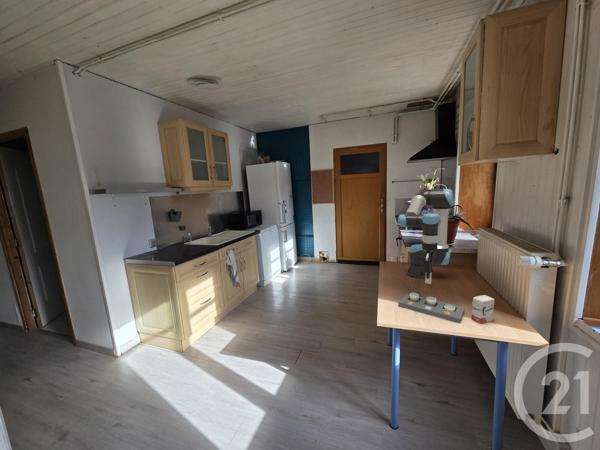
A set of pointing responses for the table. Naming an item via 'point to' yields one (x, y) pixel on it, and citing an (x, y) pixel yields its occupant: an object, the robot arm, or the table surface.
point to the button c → (450, 307)
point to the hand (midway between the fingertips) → (428, 283)
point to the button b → (431, 301)
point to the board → (432, 308)
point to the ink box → (482, 309)
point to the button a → (414, 296)
